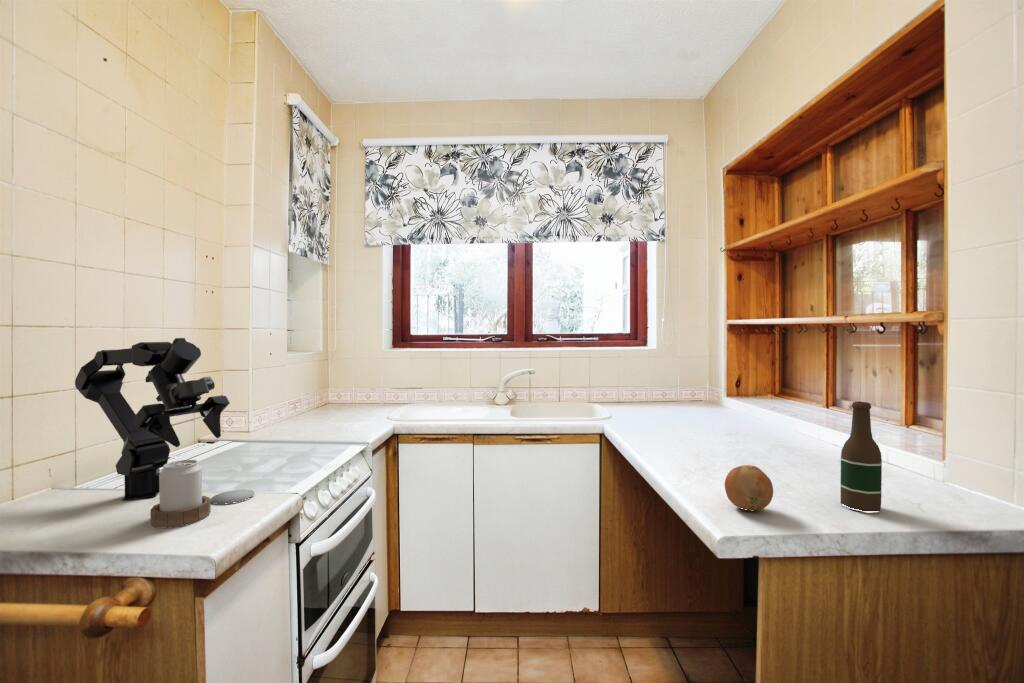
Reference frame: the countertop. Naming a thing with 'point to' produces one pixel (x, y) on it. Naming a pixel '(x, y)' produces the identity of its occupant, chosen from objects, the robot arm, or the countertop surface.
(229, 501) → the mat
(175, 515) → the collar
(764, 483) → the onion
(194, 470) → the can
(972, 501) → the countertop surface
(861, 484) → the beer bottle
